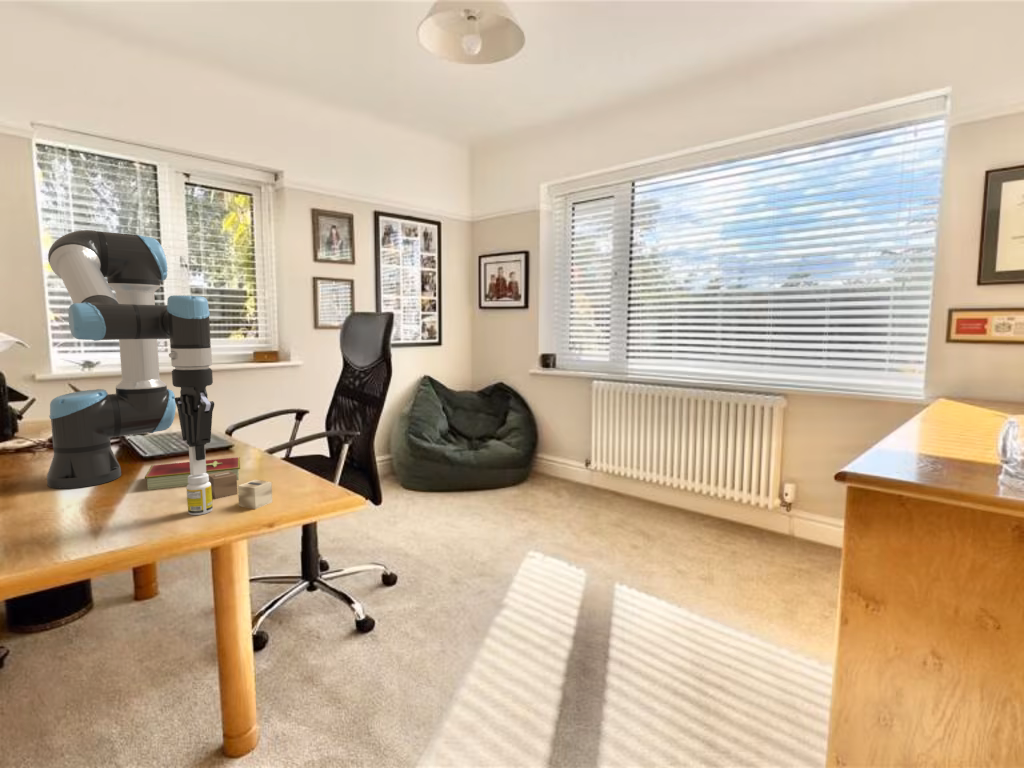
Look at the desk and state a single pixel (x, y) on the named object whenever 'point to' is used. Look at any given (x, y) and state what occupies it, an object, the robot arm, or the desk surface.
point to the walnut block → (223, 484)
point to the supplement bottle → (199, 494)
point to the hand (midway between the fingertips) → (198, 473)
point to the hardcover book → (186, 472)
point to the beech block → (255, 494)
